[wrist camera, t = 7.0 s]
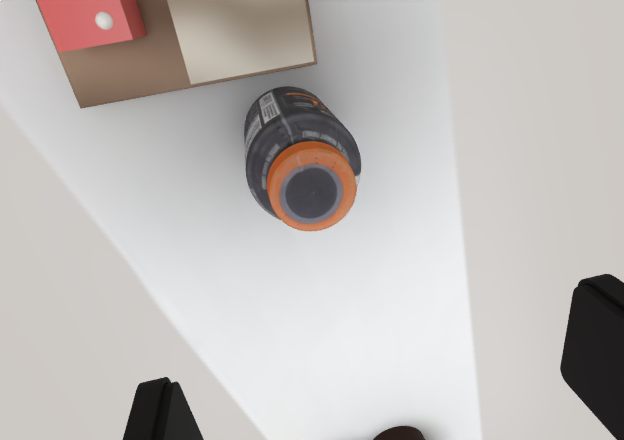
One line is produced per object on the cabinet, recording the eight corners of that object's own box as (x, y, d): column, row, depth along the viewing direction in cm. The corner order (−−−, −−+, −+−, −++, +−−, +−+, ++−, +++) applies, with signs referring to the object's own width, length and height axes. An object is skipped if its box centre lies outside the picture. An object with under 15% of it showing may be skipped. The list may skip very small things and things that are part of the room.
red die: (54, -27, 22) (19, -34, 18) (124, -38, 22) (101, -48, 18) (83, 47, 23) (55, 53, 20) (147, 35, 24) (131, 39, 20)
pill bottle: (347, 126, 29) (405, 187, 19) (291, 187, 30) (317, 273, 20) (283, 64, 26) (311, 97, 16) (225, 134, 28) (218, 203, 18)
